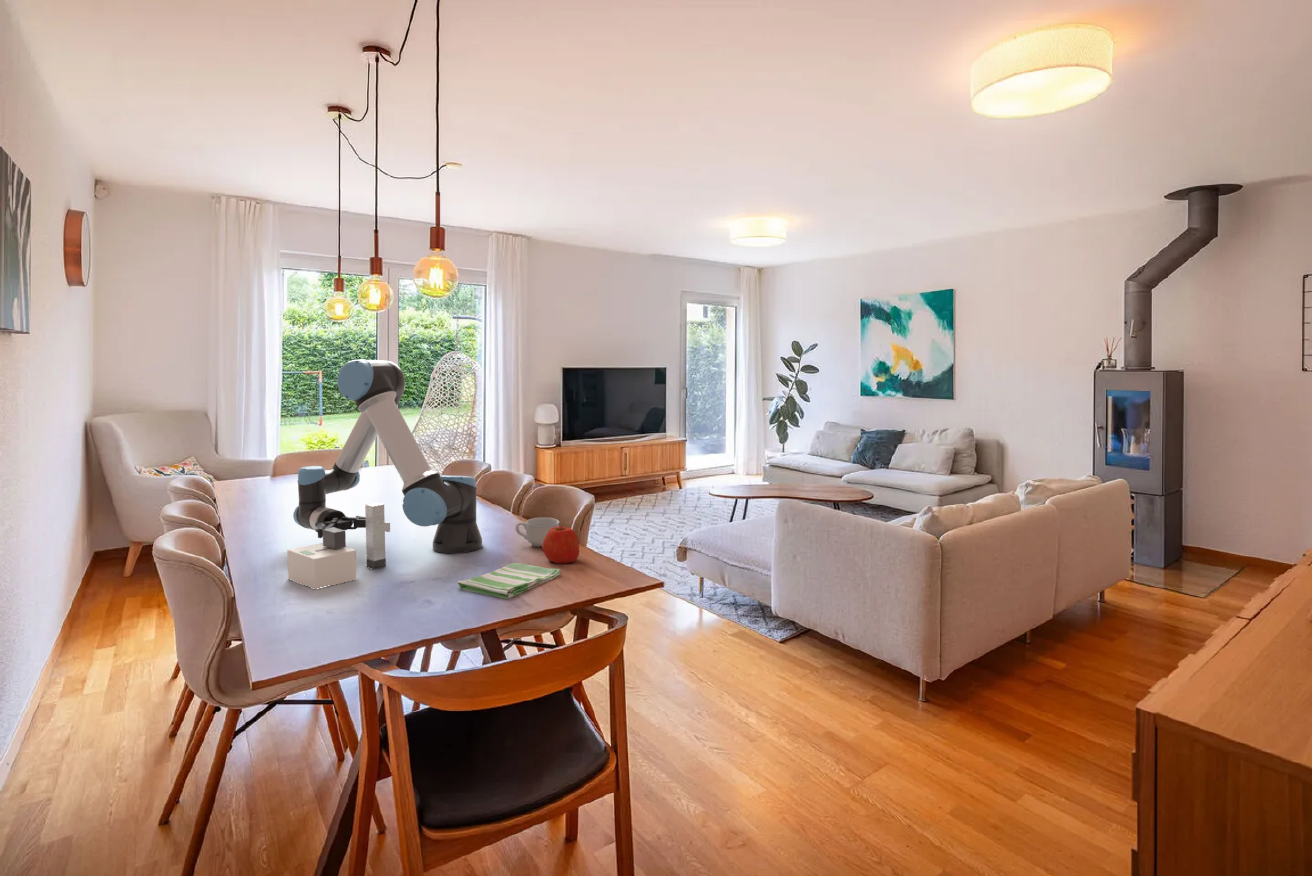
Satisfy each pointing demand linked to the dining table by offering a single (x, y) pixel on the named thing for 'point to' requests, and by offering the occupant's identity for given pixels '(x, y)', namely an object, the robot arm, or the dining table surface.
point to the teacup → (537, 529)
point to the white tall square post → (375, 535)
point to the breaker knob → (334, 538)
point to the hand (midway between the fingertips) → (367, 531)
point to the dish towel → (509, 580)
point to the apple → (561, 545)
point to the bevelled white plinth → (321, 565)
